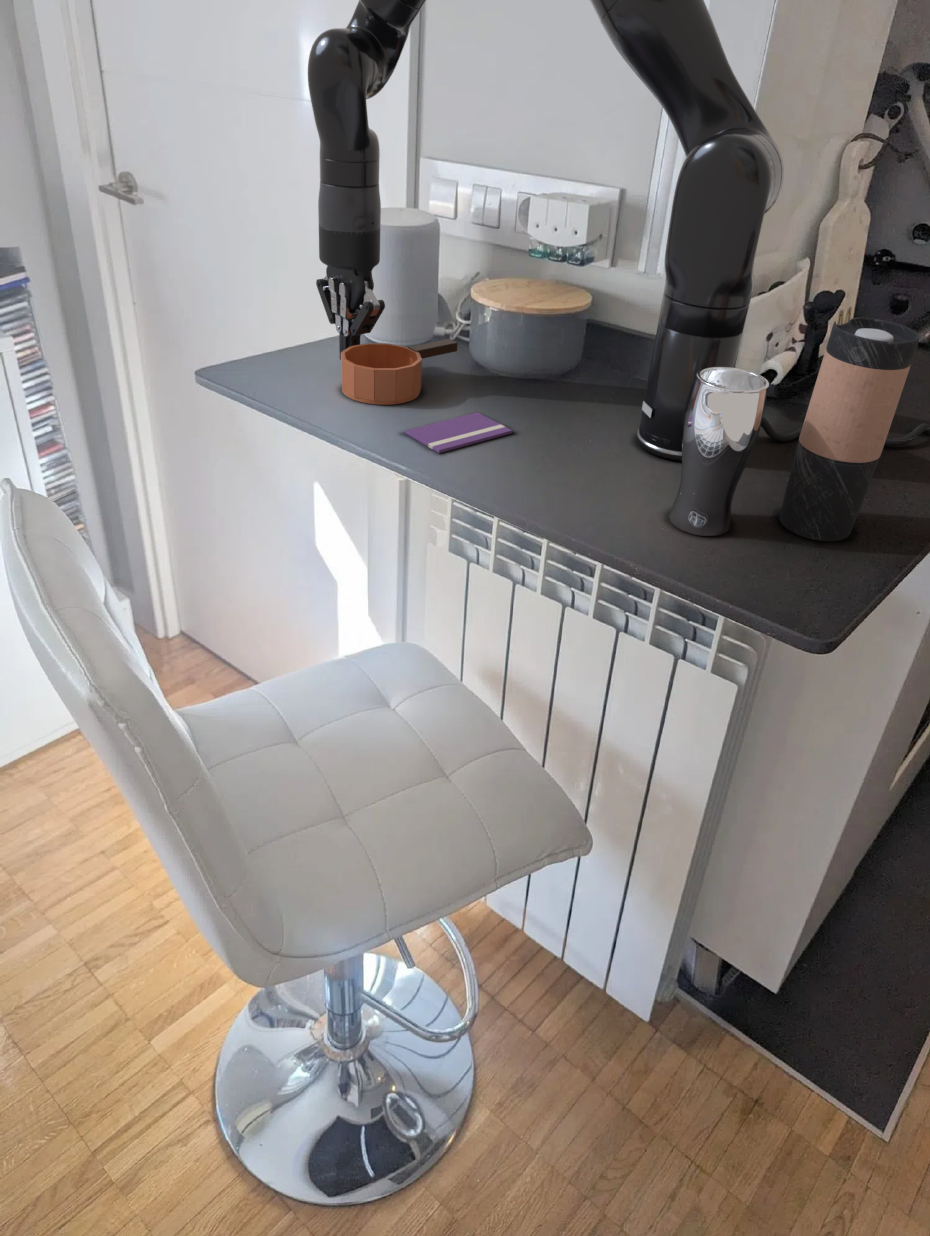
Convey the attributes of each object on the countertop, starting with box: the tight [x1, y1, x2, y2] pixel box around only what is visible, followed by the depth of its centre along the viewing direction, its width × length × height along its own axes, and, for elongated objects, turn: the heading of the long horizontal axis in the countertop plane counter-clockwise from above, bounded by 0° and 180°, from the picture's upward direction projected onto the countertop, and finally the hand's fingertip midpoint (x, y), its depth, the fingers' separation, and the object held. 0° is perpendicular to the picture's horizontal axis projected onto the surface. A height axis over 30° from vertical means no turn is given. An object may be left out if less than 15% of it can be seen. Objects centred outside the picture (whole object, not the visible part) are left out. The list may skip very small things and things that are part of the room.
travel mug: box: [779, 317, 920, 542], centre depth 88 cm, size 8×8×20 cm
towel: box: [404, 412, 513, 454], centre depth 107 cm, size 11×6×1 cm, turn 129°
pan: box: [340, 338, 458, 406], centre depth 118 cm, size 17×10×5 cm, turn 130°
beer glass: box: [668, 367, 770, 537], centre depth 88 cm, size 7×7×15 cm
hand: (349, 361), depth 121 cm, fingers closed
